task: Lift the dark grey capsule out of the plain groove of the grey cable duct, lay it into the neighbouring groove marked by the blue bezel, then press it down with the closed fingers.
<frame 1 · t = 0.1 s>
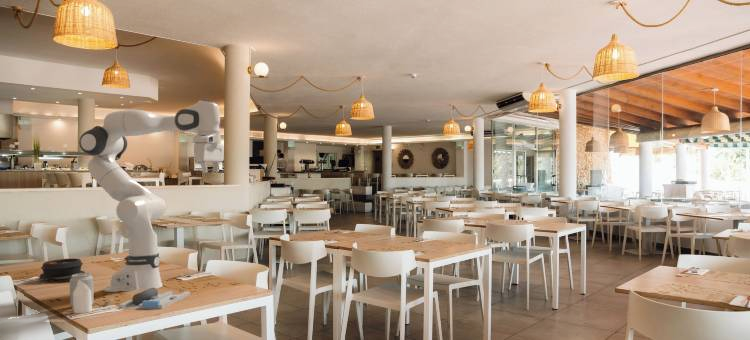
hand: (210, 172, 213), 48 cm above the table, tool pointing down, fingers open, 8 cm apart
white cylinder: (82, 314, 178), on the table
casserole: (62, 279, 243), on the table
can: (82, 307, 188), on the table
dark grey capsule: (145, 301, 189), point 1 cm above the table, touching duct
duct: (156, 303, 190), on the table
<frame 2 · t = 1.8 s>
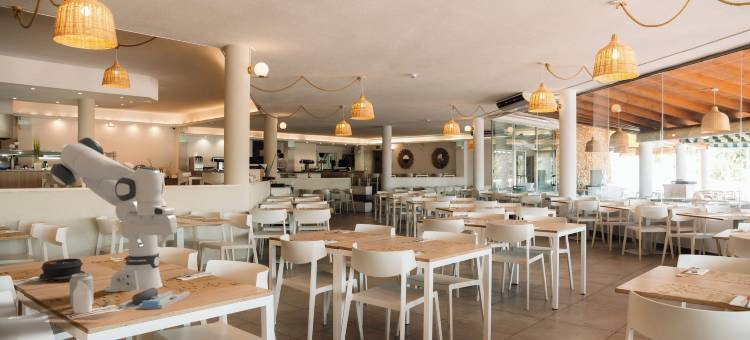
hand: (151, 247, 191), 21 cm above the table, tool pointing down, fingers open, 8 cm apart
nothing on the table moved.
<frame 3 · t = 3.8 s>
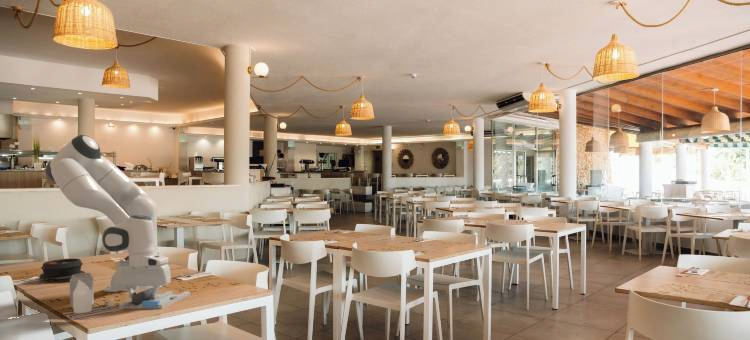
hand: (143, 297, 188), 3 cm above the table, tool pointing down, fingers open, 7 cm apart
nothing on the table moved.
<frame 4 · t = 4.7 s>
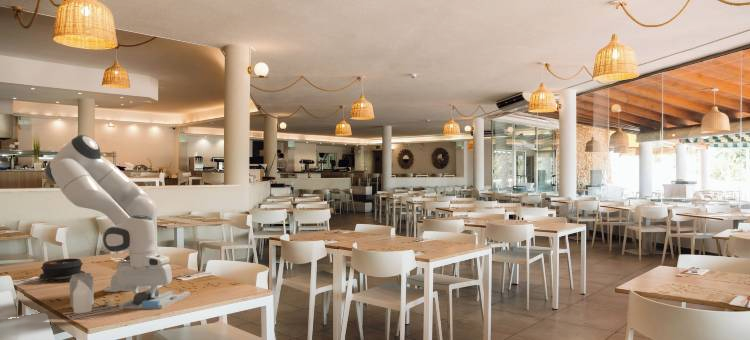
hand: (144, 297, 188), 3 cm above the table, tool pointing down, fingers closed on dark grey capsule, 4 cm apart
dark grey capsule: (145, 301, 189), point 1 cm above the table, tilted 18°, touching duct, gripper
everything else where it was.
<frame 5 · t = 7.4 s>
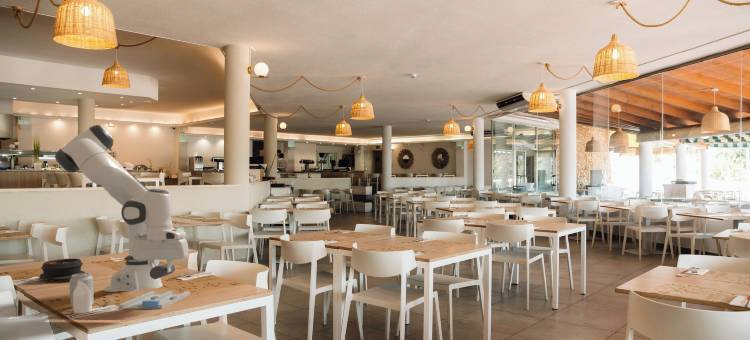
hand: (161, 271, 187), 12 cm above the table, tool pointing down, fingers closed on dark grey capsule, 4 cm apart
dark grey capsule: (161, 275, 188), point 10 cm above the table, tilted 19°, touching gripper
everything else where it was.
when the fingers open (4 cm above the table, at t = 9.6 s): dark grey capsule stays where it is, resting on duct.
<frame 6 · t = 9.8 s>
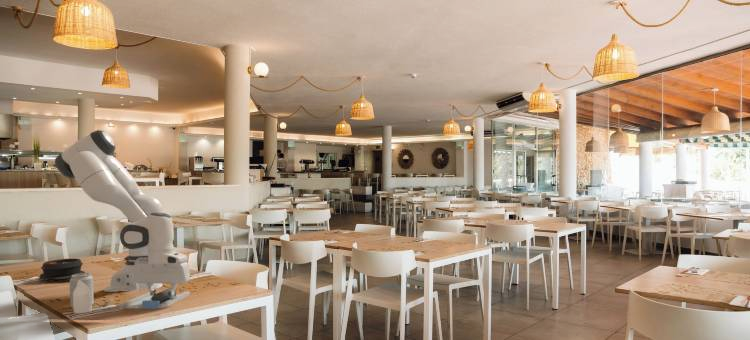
hand: (162, 295, 187), 4 cm above the table, tool pointing down, fingers open, 6 cm apart
dark grey capsule: (161, 301, 189), point 1 cm above the table, tilted 28°, touching duct
everything else where it was.
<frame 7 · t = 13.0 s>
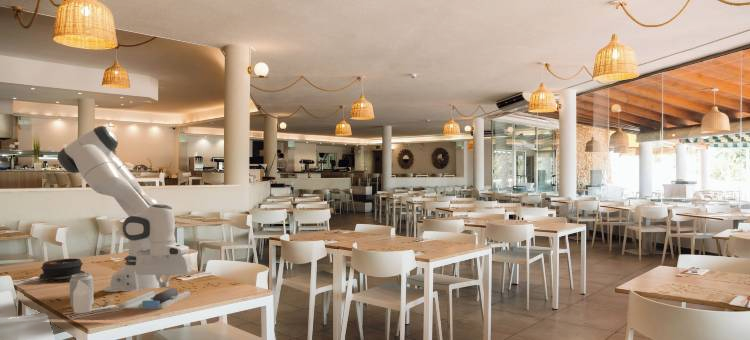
hand: (164, 286, 188), 7 cm above the table, tool pointing down, fingers closed
dark grey capsule: (162, 300, 189), point 2 cm above the table, tilted 47°, touching duct
everything else where it was.
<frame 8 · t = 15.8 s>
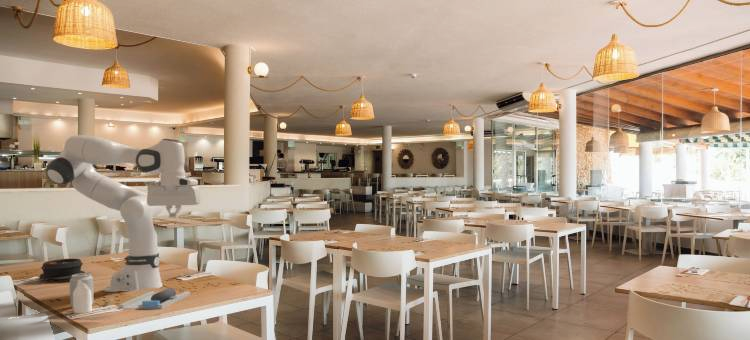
hand: (174, 217, 196), 31 cm above the table, tool pointing down, fingers closed
dark grey capsule: (161, 301, 189), point 1 cm above the table, tilted 21°, touching duct
everything else where it was.
at the end: dark grey capsule inside the target area on the duct (1.3 cm from its centre), point 1.1 cm above the duct's base; the gripper is holding nothing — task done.
